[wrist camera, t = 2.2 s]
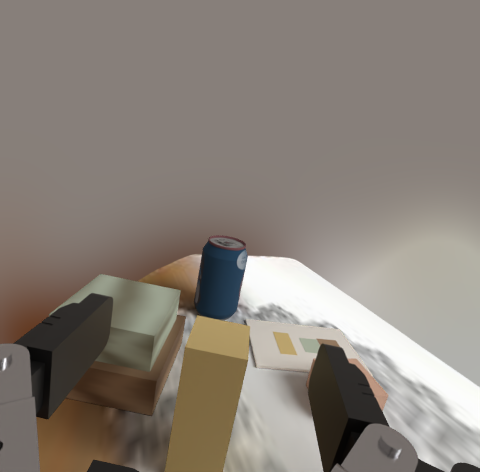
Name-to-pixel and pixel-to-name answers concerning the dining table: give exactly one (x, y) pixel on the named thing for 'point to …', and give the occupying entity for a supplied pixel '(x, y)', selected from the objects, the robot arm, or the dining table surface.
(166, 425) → the dining table surface
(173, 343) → the tower base
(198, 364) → the tall brick
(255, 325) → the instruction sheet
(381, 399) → the brick
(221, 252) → the soda can
